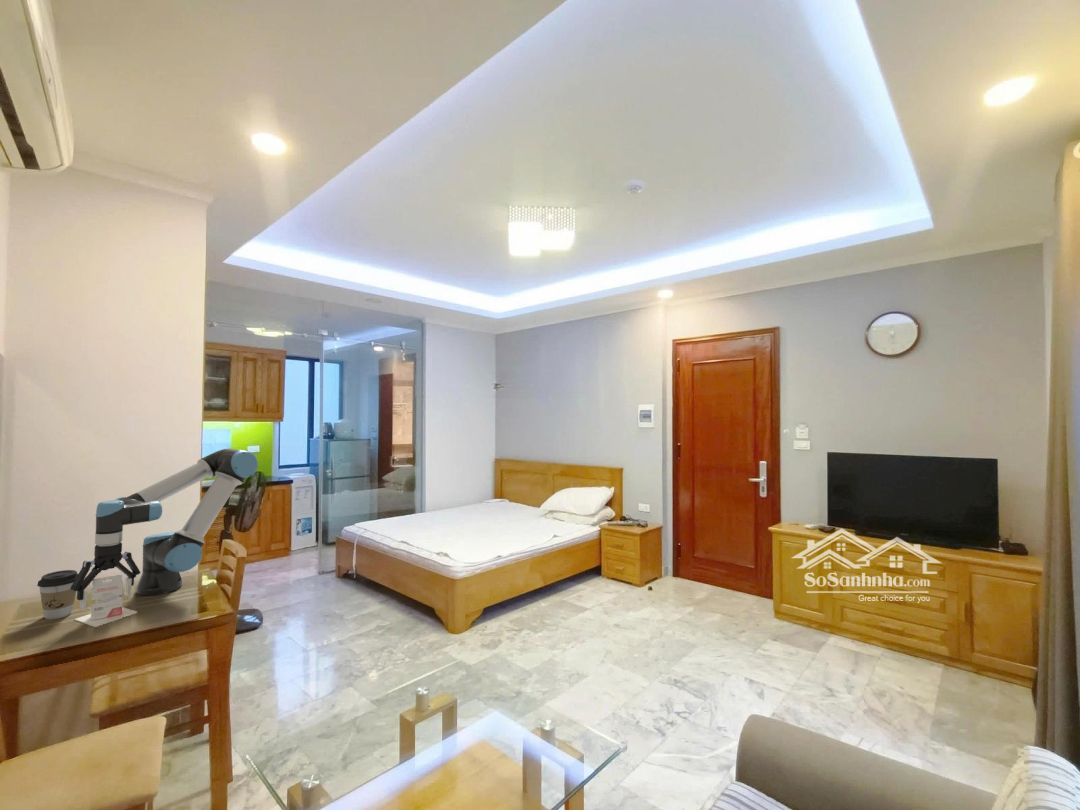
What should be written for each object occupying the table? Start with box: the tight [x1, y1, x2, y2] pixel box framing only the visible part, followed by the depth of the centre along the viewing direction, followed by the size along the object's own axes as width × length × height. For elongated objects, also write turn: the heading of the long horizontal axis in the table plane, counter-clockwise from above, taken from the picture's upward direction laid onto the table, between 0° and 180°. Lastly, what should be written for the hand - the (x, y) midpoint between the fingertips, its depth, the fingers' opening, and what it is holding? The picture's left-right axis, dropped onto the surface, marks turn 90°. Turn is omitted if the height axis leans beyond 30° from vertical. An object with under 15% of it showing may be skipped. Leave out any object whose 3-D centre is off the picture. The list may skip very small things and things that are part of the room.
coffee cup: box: [36, 569, 79, 620], centre depth 178 cm, size 11×11×15 cm
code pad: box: [74, 606, 139, 628], centre depth 178 cm, size 13×13×1 cm
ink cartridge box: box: [90, 574, 123, 620], centre depth 178 cm, size 9×5×15 cm, turn 131°
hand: (106, 601), depth 178 cm, fingers open, 13 cm apart
